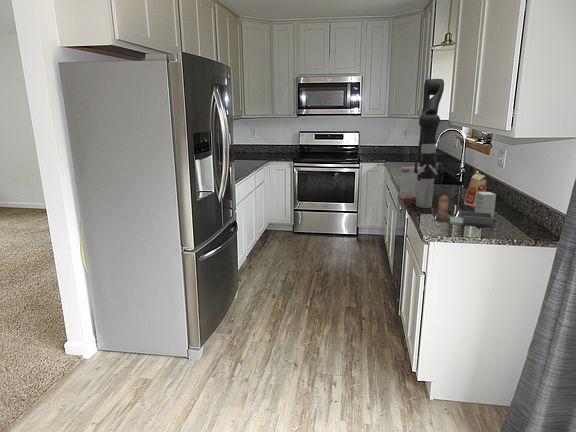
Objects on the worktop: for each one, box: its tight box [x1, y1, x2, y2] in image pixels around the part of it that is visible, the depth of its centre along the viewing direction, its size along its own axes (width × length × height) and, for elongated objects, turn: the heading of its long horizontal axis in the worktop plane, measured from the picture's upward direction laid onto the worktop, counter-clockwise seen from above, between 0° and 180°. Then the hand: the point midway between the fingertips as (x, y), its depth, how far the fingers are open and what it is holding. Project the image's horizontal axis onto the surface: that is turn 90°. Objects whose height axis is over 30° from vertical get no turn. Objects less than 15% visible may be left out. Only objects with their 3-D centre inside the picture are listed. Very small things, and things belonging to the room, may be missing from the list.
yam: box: [436, 194, 450, 223], centre depth 215 cm, size 5×5×14 cm
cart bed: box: [449, 210, 496, 228], centre depth 212 cm, size 12×20×4 cm, turn 71°
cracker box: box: [398, 166, 425, 201], centre depth 266 cm, size 14×6×21 cm, turn 84°
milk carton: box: [463, 171, 487, 207], centre depth 250 cm, size 9×9×20 cm
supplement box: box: [474, 191, 497, 216], centre depth 226 cm, size 7×7×13 cm
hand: (427, 180), depth 231 cm, fingers open, 8 cm apart
